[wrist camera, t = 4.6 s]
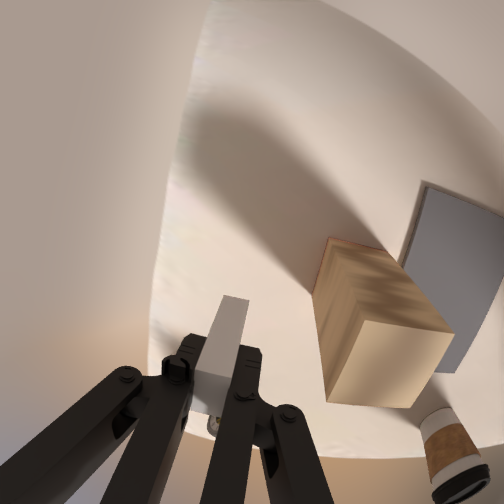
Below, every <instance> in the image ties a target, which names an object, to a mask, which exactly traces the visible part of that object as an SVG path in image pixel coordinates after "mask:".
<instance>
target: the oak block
mask: <svg viewBox="0 0 504 504" xmlns="http://www.w3.org/2000/svg"><path fill="white" fill-rule="evenodd" d="M312 301H313V307H314V314H315V320H316V327H317V334H318V341H319V348H320V355H321V363H322V370H323V378H324V386H325V395H326V402H329V403H338V404H348V405H359V406H373V407H392V408H410V407H411V406H412V404H413V403H414V401H415V400H416V399H417V397H418V396H419V394H420V393H421V391H422V390H423V388H424V386H425V385H426V383H427V382H428V380H429V379H430V377H431V375H432V374H433V372H434V370H435V369H436V367H437V365H438V364H439V362H440V360H441V359H442V357H443V355H444V353H445V352H446V350H447V348H448V346H449V344H450V343H451V341H452V339H453V337H454V335H455V333H454V332H453V331H452V329H451V328H450V327H449V325H448V324H447V323H446V322H445V320H444V319H443V318H442V316H441V315H440V314H439V312H438V311H437V310H436V309H435V307H434V306H433V305H432V304H431V302H430V301H429V300H428V299H427V297H426V296H425V295H424V294H423V292H422V291H421V290H420V289H419V288H418V286H417V285H416V284H415V283H414V282H413V280H412V279H411V278H410V277H409V276H408V274H407V273H406V272H405V271H404V270H403V269H402V268H401V266H400V265H399V264H398V263H397V262H396V261H395V259H394V258H393V257H392V256H391V255H390V254H389V253H388V252H387V251H383V250H379V249H375V248H371V247H367V246H363V245H359V244H354V243H350V242H346V241H342V240H338V239H333V238H328V242H327V245H326V249H325V252H324V256H323V259H322V263H321V266H320V270H319V273H318V276H317V280H316V283H315V286H314V289H313V293H312Z"/></svg>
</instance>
